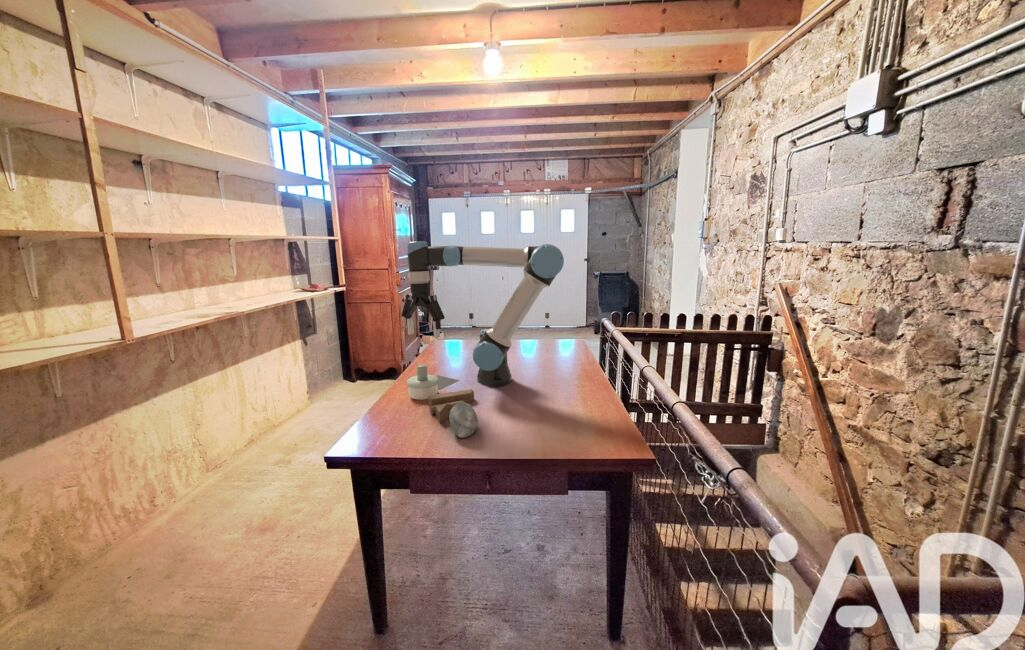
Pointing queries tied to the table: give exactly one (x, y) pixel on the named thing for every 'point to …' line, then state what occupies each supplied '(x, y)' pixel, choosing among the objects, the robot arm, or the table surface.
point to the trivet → (445, 381)
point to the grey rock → (463, 419)
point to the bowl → (422, 392)
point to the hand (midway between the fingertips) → (423, 335)
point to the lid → (422, 379)
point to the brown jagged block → (448, 402)
